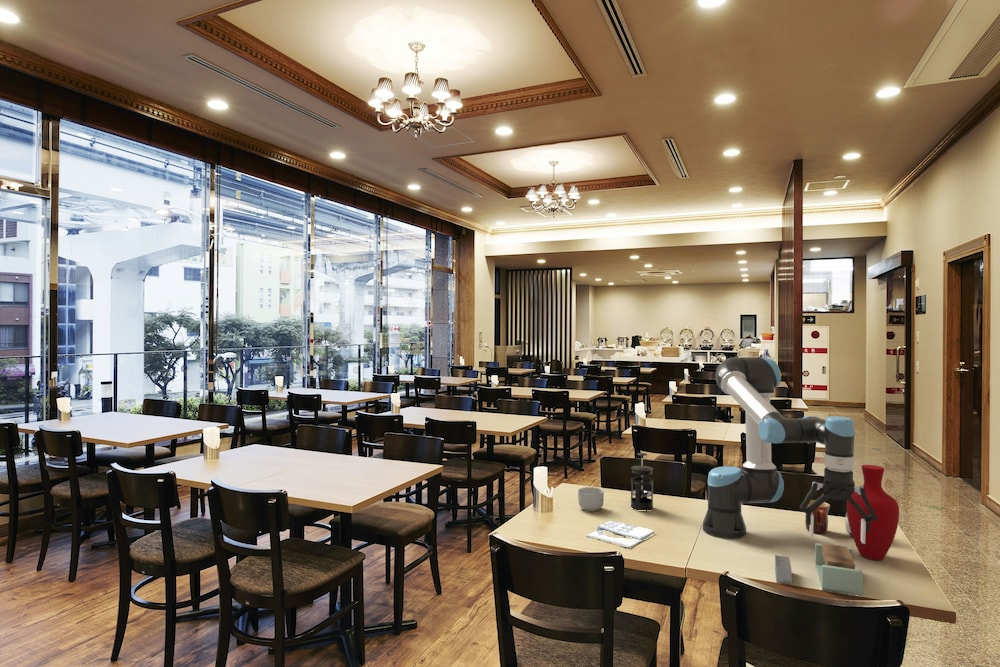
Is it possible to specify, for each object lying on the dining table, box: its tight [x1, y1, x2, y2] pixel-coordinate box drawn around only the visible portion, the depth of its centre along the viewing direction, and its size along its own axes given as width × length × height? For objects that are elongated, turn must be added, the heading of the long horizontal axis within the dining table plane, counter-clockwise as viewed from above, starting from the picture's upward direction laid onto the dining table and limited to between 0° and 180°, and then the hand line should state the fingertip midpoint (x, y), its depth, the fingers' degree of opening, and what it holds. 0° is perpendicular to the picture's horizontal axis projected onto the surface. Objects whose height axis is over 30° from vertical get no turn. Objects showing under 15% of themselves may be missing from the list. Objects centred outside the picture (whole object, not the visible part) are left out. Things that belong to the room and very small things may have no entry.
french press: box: [630, 452, 654, 512], centre depth 246 cm, size 12×9×23 cm
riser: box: [774, 554, 792, 585], centre depth 179 cm, size 4×10×4 cm, turn 157°
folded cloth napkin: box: [585, 520, 655, 549], centre depth 215 cm, size 19×20×2 cm
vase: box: [846, 464, 900, 561], centre depth 195 cm, size 15×15×30 cm
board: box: [821, 543, 856, 569], centre depth 177 cm, size 7×15×3 cm, turn 157°
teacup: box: [577, 485, 605, 512], centre depth 247 cm, size 14×11×8 cm
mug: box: [804, 499, 831, 535], centre depth 218 cm, size 12×9×10 cm
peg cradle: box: [814, 542, 864, 597], centre depth 177 cm, size 10×20×7 cm, turn 157°
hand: (836, 538), depth 177 cm, fingers open, 13 cm apart
